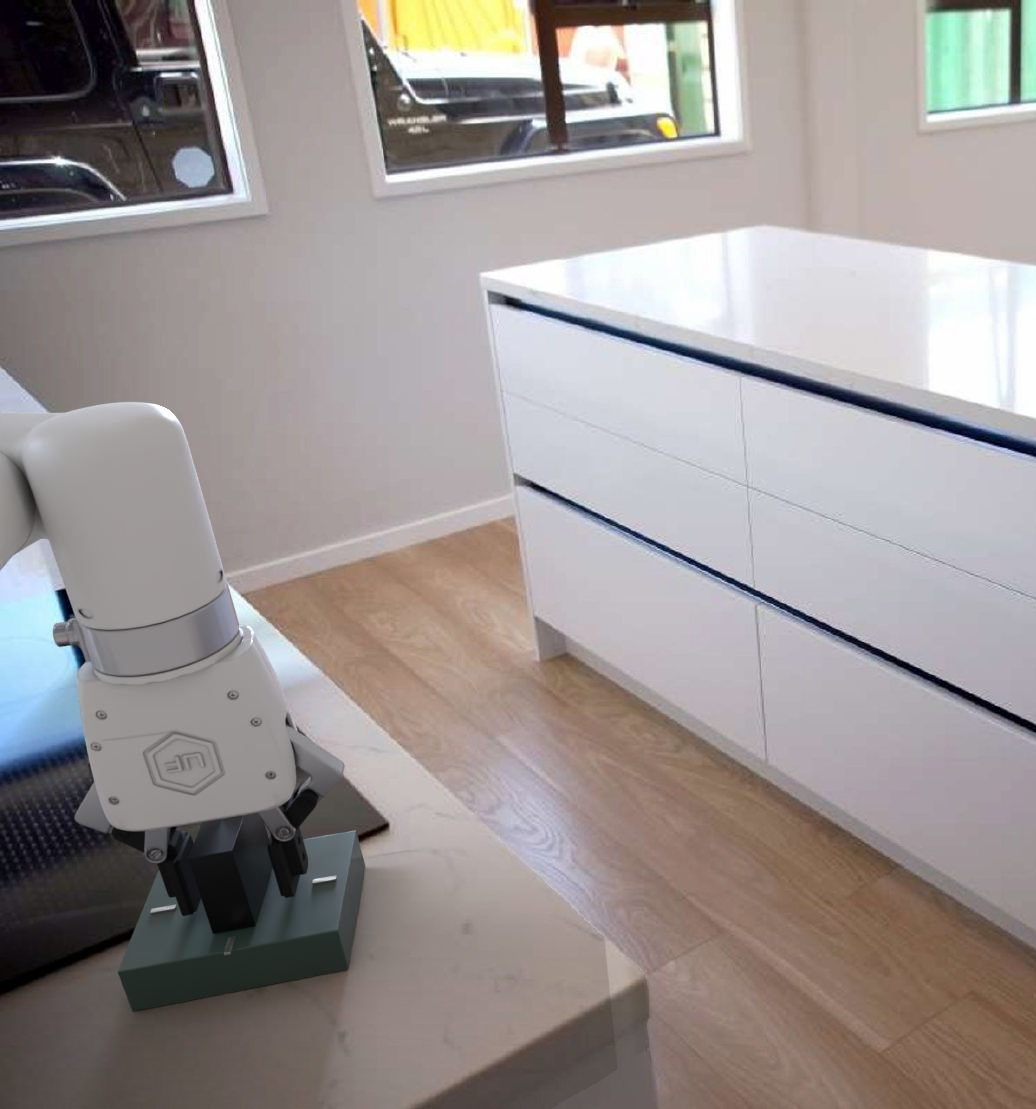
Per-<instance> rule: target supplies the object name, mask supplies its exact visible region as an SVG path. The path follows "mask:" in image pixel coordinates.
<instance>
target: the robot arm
mask: <svg viewBox="0 0 1036 1109" xmlns="http://www.w3.org/2000/svg"><path fill="white" fill-rule="evenodd" d="M194 462H195V461H194V459H193V456H192V452H191V448H190V445H189V441H188V438H187V434H186V433H185V430H184V427H183V425H182V424H181V422H180V420H179V419H178V418H177V417H176V415H175V414H174V413H172V412H171V411H170V410H169V409H167V408H165V407H164V406H160V405H158V404H155V403H149V402H140V401H139V402H138V401H121V402H111V403H109V402H108V403H103V404H96V405H90V406H86V407H81V408H77V409H73V410H70V411H67V412H30V411H29V412H27V411H26V412H24V411H23V412H22V411H7V410H6V411H5V410H0V572H1V571H2V570H3V569H4V567H5V566H6V565H7V564H8V563H9V561H10V560H11V559H12V558H13V557H14V556H15V555H16V554H18V553H20V552H21V551H23V550H25V549H26V548H29V547H30V546H32V545H33V544H35V543H36V542H38V541H40V540H47V541H49V545H50V548H51V551H52V554H53V558H54V559H55V563H56V566H57V568H58V571H59V574H60V577H61V580H62V582H63V585H64V588H65V591H66V594H67V597H68V600H69V602H70V605H71V608H72V611H73V614H74V617H72V618H69V619H68V620H67V621H61V622H56V623H54V624H53V627H52V637H53V641H54V643H55V645H56V647H59V648H61V647H62V648H63V647H69V646H71V647H73V648H79V649H80V650H81V651H82V654H83V658H84V660H85V662H84V663H83V664H82V665H81V667H79V669H78V671H77V672H76V684H77V685H76V686H77V697H78V706H79V714H80V719H81V725H82V731H83V737H84V742H85V746H86V752H87V755H88V756H87V757H88V761H90V765H91V770H92V774H93V778H94V782H92V785H91V786H90V788H89V789H88V790H87V793H86V795H85V796H84V798H83V799H82V801H81V803H80V804H79V807H78V808H77V810H76V812H75V813H74V816H73V817H74V821H75V822H76V823H77V824H79V825H81V826H84V827H87V828H90V829H92V830H95V831H97V832H100V833H103V834H107V833H108V834H110V835H111V836H112V838H113V839H114V840H116V841H118V842H120V843H121V844H125V845H127V846H129V847H130V848H133V849H135V850H137V851H140V852H142V853H143V856H144V859H145V860H146V861H147V862H148V863H151V864H156V865H157V867H158V870H159V871H160V873H161V876H162V879H163V882H164V885H165V888H166V891H167V894H168V896H169V897H170V898H172V897H176V900H177V903H178V905H179V908H180V911H181V914H182V916H187V915H192V914H193V913H194V912H196V911H197V908H198V905H199V903H200V900H201V897H200V894H199V891H198V887H197V884H196V881H195V878H194V875H193V872H192V869H191V866H190V863H189V860H188V857H189V855H190V852H191V850H192V847H193V844H194V842H195V841H194V839H193V836H192V835H191V834H189V832H188V830H184V831H182V830H180V829H179V827H180V826H181V827H182V826H187V825H188V826H189V825H193V824H194V825H195V824H199V823H202V822H206V821H212V820H218V819H224V818H230V817H235V816H241V815H247V814H252V813H257V814H258V815H259V817H260V818H261V820H262V821H263V822H264V824H265V827H266V829H267V830H268V831H269V833H270V835H269V842H268V847H267V849H268V854H269V857H270V860H271V864H272V867H273V870H274V874H275V877H276V881H277V884H278V887H279V891H280V894H281V896H284V897H285V898H288V897H294V896H295V894H296V890H297V886H298V882H299V878H300V875H303V874H306V873H307V869H308V856H307V852H306V849H305V845H304V841H303V840H304V837H303V835H302V831H301V828H300V827H301V826H302V824H303V823H304V822H305V820H306V819H307V818H308V817H309V816H310V814H311V813H312V812H313V811H314V810H315V808H316V807H317V805H318V803H319V802H320V801H321V800H322V799H324V798H325V797H326V796H327V795H328V794H329V793H330V792H331V791H332V790H334V788H335V787H336V786H338V785H339V784H340V783H341V781H342V780H343V777H344V776H343V775H344V773H345V772H344V771H345V768H346V766H345V763H344V762H343V760H341V759H340V758H338V757H337V756H335V755H333V754H332V753H331V752H329V751H327V750H326V749H325V748H323V747H321V746H320V745H319V744H318V743H316V742H314V741H312V740H311V739H310V738H308V737H307V736H306V735H304V734H302V733H301V732H299V731H298V728H297V725H296V722H295V719H294V716H293V714H292V713H293V712H292V711H291V707H290V704H289V702H288V700H287V697H286V694H285V692H284V689H283V687H282V685H281V682H280V680H279V677H278V675H277V673H276V670H275V668H274V667H273V665H272V662H271V660H270V659H269V657H268V655H267V653H266V651H265V649H264V647H263V645H262V643H261V641H260V640H259V638H258V636H257V635H256V634H255V632H254V630H253V629H252V628H251V627H250V626H249V625H240V622H239V619H238V615H237V612H236V608H235V604H234V600H233V596H232V593H231V590H230V587H229V583H228V581H227V578H226V574H225V571H224V567H223V563H222V559H221V556H220V552H219V548H218V545H217V541H216V538H215V537H216V536H215V534H214V530H213V526H212V522H211V519H210V516H209V512H208V508H207V506H206V502H205V497H204V494H203V491H202V487H201V484H200V480H199V477H198V474H197V470H196V465H195V463H194ZM296 768H298V769H300V770H302V771H303V772H304V773H306V774H308V775H309V777H308V778H307V779H305V780H304V779H303V781H302V782H300V783H299V785H298V786H297V787H296V785H297V770H296Z"/></svg>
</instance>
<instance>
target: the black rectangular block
mask: <svg viewBox="0 0 1036 1109" xmlns="http://www.w3.org/2000/svg"><path fill="white" fill-rule="evenodd" d="M269 839H270V837H269V835H268V830H267V827H266V825H265V824H264V822H263V821H262V820H261V818H260V817H259V815H258V814H257V813H252V814H247V815H241V816H235V817H230V818H224V819H218V820H212V821H206V822H201V824H200V827H199V829H198V831H197V834H196V836H195V839H194V841H193V842H194V844H193V847H192V850H191V852H190V855H189V857H188V860H189V863H190V866H191V869H192V872H193V875H194V878H195V881H196V884H197V887H198V891H199V894H200V897H201V900H202V903H203V906H204V909H205V912H206V915H207V918H208V921H209V924H210V927H211V930H212V933H213V934H215V933H220V932H226V931H231V930H237V929H242V928H248V927H253V926H256V922H257V919H258V915H259V912H260V908H261V905H262V902H263V898H264V895H265V891H266V888H267V884H268V881H269V877H270V874H271V870H272V864H271V860H270V857H269V854H268V849H267V847H268V842H269Z"/></svg>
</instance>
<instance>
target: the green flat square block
mask: <svg viewBox="0 0 1036 1109" xmlns="http://www.w3.org/2000/svg"><path fill="white" fill-rule="evenodd" d="M357 832H358V831H356V830H351V831H345V832H339V833H334V834H328V835H322V836H317V837H311V838H305V839H303V841H304V845H305V849H306V852H307V856H308V869H307V873H306V874H303V875H300V878H299V882H298V886H297V890H296V894H295V896H294V897H288V898H285V897H284V896H281V894H280V891H279V887H278V884H277V881H276V877H275V874H274V870H273V867H272V870H271V874H270V877H269V881H268V884H267V888H266V891H265V895H264V898H263V902H262V905H261V908H260V912H259V915H258V919H257V922H256V926H253V927H248V928H242V929H237V930H231V931H226V932H220V933H215V934H213V933H212V930H211V927H210V924H209V921H208V918H207V915H206V912H205V909H204V906H203V903H202V900H200V903H199V905H198V908H197V911H196V912H194V913H193V914H192V915H187V916H182V914H181V911H180V908H179V905H178V903H177V900H176V897H172V898H170V897H169V896H168V894H167V891H166V888H165V885H164V882H163V879H162V876H161V873H160V871H159V869H158V871H157V873H156V876H155V878H154V880H153V883H152V886H151V888H150V890H149V893H148V895H147V898H146V899H145V903H144V904H143V908H142V910H141V912H140V915H139V918H138V920H137V923H136V925H135V927H134V929H133V932H132V935H131V938H130V940H129V942H128V945H127V946H126V947H127V948H126V949H125V951H124V952H125V953H124V955H123V957H122V959H121V963H120V965H119V967H118V970H117V974H118V978H119V980H120V982H121V985H122V988H123V991H124V993H125V996H126V998H127V1001H128V1004H129V1006H130V1010H131V1011H132V1012H137V1011H141V1010H146V1009H151V1008H157V1007H162V1006H167V1005H173V1004H178V1003H183V1002H187V1001H193V1000H198V999H203V998H208V997H214V996H218V995H219V996H220V995H224V994H230V993H234V992H240V991H244V990H250V989H256V988H259V987H264V986H269V985H275V984H280V983H286V982H291V981H296V980H300V979H306V978H312V977H317V976H320V975H327V974H332V973H335V972H336V973H337V972H342V971H346V970H347V971H348V970H349V968H350V961H351V955H352V950H353V943H354V937H355V931H356V925H357V919H358V913H359V907H360V903H361V902H360V901H361V896H362V890H363V883H364V877H365V871H366V862H365V859H364V855H363V851H362V848H361V842H360V841H359V836H358V833H357Z"/></svg>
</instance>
